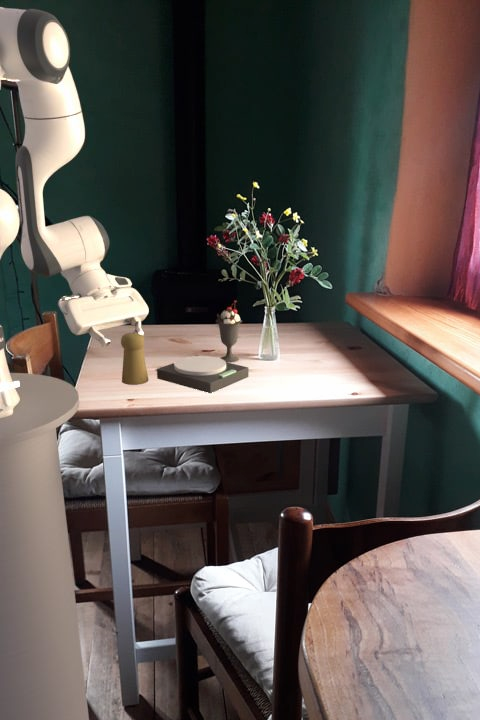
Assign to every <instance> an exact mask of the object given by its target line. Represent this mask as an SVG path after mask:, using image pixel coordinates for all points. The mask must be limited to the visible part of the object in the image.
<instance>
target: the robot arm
mask: <svg viewBox="0 0 480 720" xmlns="http://www.w3.org/2000/svg"><path fill="white" fill-rule="evenodd" d="M70 59H71V46H70V40H69V37H68V34H67V32H66V30H65V28H64V27H63V25H62V24H61V22H60V21H59V20H58V18H57V17H56V16H55V15H53V14H52V13H50V12H48V11H44V10H41V9H36V8H28V9H22V8H21V9H20V8H8V7H2V6H0V89H1V87H2V82H1V81H2V80H3V81H9V82H15V83H16V85H17V88H18V96H19V101H20V107H21V110H22V115H23V120H24V125H25V126H24V138H23V142H22V145H21V146H20V147H19V148H18V149H17V150H16V154H15V179H16V180H15V181H16V190H17V191H16V192H17V200H18V201H17V202H18V207H17V204H16V203H15V201H14V199H13V197H12V196H10V194H9V193H8V192H7V191H5V190H3V189H1V188H0V260H1V259H2V256H3V254H4V252H5V251H6V250H7V248H8V247H9V246H10V245H11V244H12V243H14V241H15V239H16V237H17V235H18V233H19V229H20V251H21V257H22V259H23V262H24V264H25V266H26V267H27V269H28V270H29V271H30V272H32V273H34V274H36V275H39V276H41V277H45V278H50V277H53V276H55V275H57V274H59V273H60V274H61V276H62V277H63V278H64V279H65V280H66V281H67V282H68V286H69V289H70V291H71V292H72V294H71V295H64V296H61V297H60V299H58V302H57V306H58V307H59V310H60V312H62V314H63V316H64V319H65V322H66V324H67V326H68V329H69V331H70V332H71V333H72V334H74V335H76V336H80V335H85V334H89V336H90V337H91V338H92V339H94V340H96V341H98V342H99V344H100V346H101V347H102V348H105V347H109V346H110V345H111V343H112V342H111V339H110V337H109V336H108V335H105V334H103V333H102V332H100V331H102V330H106V329H111V328H115V327H120V326H125V325H129V324H131V326H132V327H134V331H133V332H132V333H139V334H141V335H143V336H145V333H144V331H143V329H142V322H143V321H144V320H145V319H146V318H147V316H148V315H149V312H150V311H149V309H150V308H149V306H148V304H147V303H146V301H145V299H144V298H143V297H142V295H141V294H140V293H139V291H138V290H137V289H136V288H133V287H132V285H133V283H132V281H131V279H129V278H127V277H124V276H117V275H112V274H109V273H106V271H105V270H104V269H103V267H101V262H103V260H104V259H105V257H106V255H107V253H108V250H109V248H110V244H111V243H110V238H109V235H108V233H107V231H106V229H105V227H104V225H102V223H101V222H100V221H99V220H97V219H96V218H95V217H92V216H91V215H83V216H79V217H76V218H72V219H68V220H67V219H66V221H62V222H58V223H54V224H51V225H47V226H46V220H45V210H44V209H45V208H44V197H43V196H44V195H43V191H44V187H45V184H46V183H47V181H48V179H49V178H50V177H51V176H52V175H53V174H54V173H55V172H57V171H58V170H59V169H61V168H62V167H63V166H64V165H66V164H68V163H69V162H70V161H72V160H73V159H74V158H75V157H76V156H77V155H78V153H80V151H81V149H82V148H83V145H84V143H85V140H86V128H85V122H84V116H83V115H84V114H83V111H82V105H81V102H80V98H79V93H78V90H77V87H76V83H75V81H74V78H73V74H72V72H71V69H70V67H69V65H70ZM6 348H7V347H6V338H5V333H4V327H3V326H2V325H1V324H0V418H3V417H7V416H10V415H12V414H13V408H14V407H15V406H16V405H17V404H18V403H19V401H20V397H19V395H18V393H17V391H16V389H15V387H19V386H20V385H19V381H16V382H12V379H11V376H10V373H11V372H10V369H9V366H8V361H7V357H6V350H7V349H6Z"/></svg>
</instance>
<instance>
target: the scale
mask: <svg viewBox="0 0 480 720" xmlns="http://www.w3.org/2000/svg"><path fill="white" fill-rule="evenodd" d="M220 358H221V357H217V356H212V355H211V356H210V355H198V354H195V355H192V356H186V357H182V358H179V359H177V360H176V361H175V362H172V363H170V364H167V365H163V366H161V367H158V368H156V378H157V380H161V381H164V382H168V383H172V384H175V385H179V386H181V387H182V386H183V387H185V388H190V389H193V390H196V389H197V391H200V392H203V391H204V393H207V392H208V393H207V394H213V393H215V392H218V391H219V389H220V390H222V389H224V388H227V387H229V386H231V385H234V384H236V383H238V382H240V381H242V380H245V379H247V378H249V373H250V371H249V370H250V369H249V367H248V366H244V365H241V364H236V363H233V362H225V361H224V360H223V359H220ZM212 392H213V393H212Z"/></svg>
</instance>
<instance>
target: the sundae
mask: <svg viewBox="0 0 480 720" xmlns="http://www.w3.org/2000/svg"><path fill="white" fill-rule="evenodd" d="M237 302H238V300H234V301H233V303H232V305H234V306H233V307H234V309H232V306H228V307H227V308H226V309H225V310H223V311H222V312H221V314H219V313H217V314H216V317H217V319H216V320H215V324H216V325H218V329H219V336H220V341H221V343H222V344H223V345H224V346H225V347H226V354H225V355H224V356H221V357H219V358H220V359H223V360H224V361H225V362H228V363H235V362H238V361H239V360H240V358H239V357H238V356H234V355H233V351H232V348H233V346H234V345H236V343H237V342H238V337H239V330H240V325H241V323H243V320H241V317H240V315H239V314H238V310H237V309H236V303H237Z"/></svg>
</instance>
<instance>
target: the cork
mask: <svg viewBox="0 0 480 720" xmlns="http://www.w3.org/2000/svg"><path fill="white" fill-rule="evenodd" d="M145 341H146V339H145V337H144V335H141V334H139V333H133V332H128V333H124V334H123V335H122V336H121V338H120V344H121V347H122V348H123V358H122V372H121V383H122V384H125V385H127V386H128V385H129V386H138V385H143V384H146V383H148V382H149V380H150V379H149V375H148V369H147V365H146V359H145V354H144V349H143V348H144V346H145V343H146V342H145Z"/></svg>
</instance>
